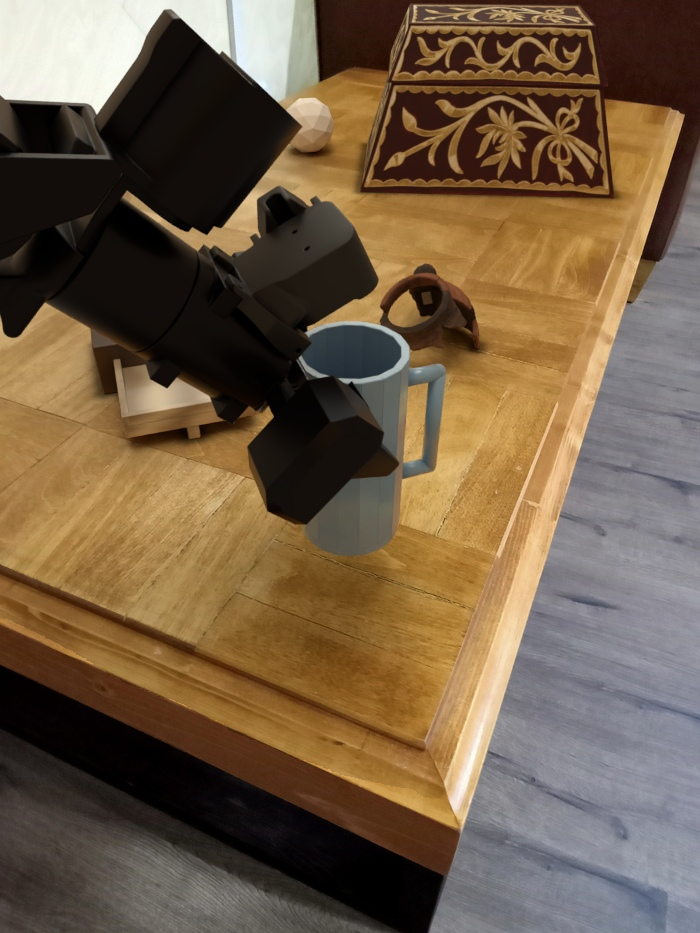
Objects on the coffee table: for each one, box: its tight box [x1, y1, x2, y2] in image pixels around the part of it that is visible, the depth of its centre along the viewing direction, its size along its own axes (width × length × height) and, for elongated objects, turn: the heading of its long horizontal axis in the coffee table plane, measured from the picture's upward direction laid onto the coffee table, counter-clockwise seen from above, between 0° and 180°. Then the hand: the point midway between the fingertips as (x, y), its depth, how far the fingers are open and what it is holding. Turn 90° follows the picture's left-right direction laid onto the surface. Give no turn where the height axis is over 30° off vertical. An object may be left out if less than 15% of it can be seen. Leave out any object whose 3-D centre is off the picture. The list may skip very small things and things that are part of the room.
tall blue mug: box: [299, 320, 447, 557], centre depth 47 cm, size 9×6×13 cm
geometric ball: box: [285, 97, 335, 153], centre depth 119 cm, size 8×8×8 cm
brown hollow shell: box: [379, 263, 481, 352], centre depth 77 cm, size 12×10×8 cm
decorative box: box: [359, 2, 615, 199], centre depth 108 cm, size 35×19×20 cm, turn 86°
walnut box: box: [89, 328, 258, 440], centre depth 71 cm, size 14×18×5 cm
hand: (372, 434), depth 47 cm, fingers closed on tall blue mug, 6 cm apart
